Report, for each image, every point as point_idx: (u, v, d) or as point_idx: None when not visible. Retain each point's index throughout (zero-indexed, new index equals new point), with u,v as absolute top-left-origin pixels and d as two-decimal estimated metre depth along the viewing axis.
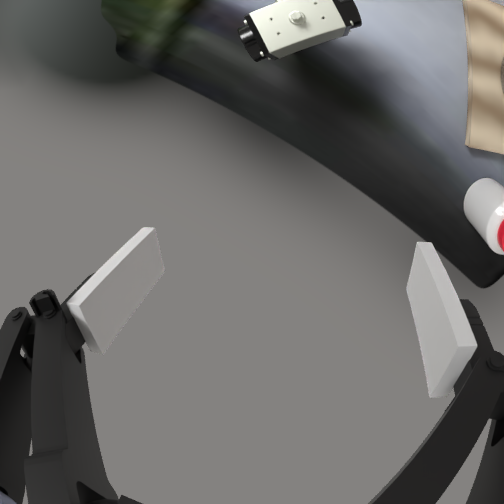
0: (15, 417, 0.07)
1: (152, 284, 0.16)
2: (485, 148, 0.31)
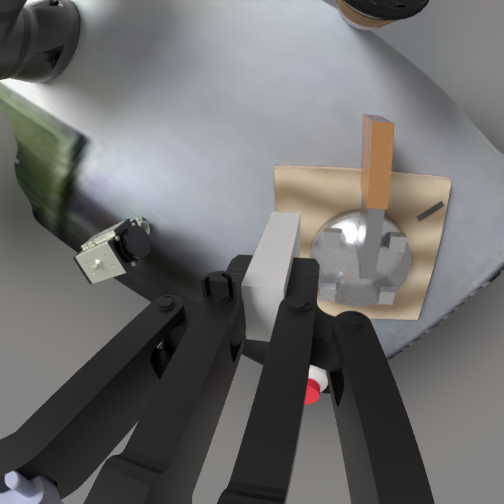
0: (110, 421, 0.08)
1: None
2: None
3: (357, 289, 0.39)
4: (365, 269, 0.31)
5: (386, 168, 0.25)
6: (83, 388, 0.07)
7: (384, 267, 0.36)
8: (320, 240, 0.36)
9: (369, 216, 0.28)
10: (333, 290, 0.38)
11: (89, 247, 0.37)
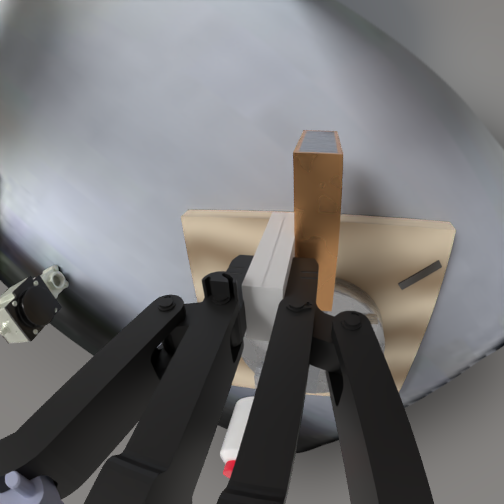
0: (110, 421, 0.08)
1: None
2: (237, 385, 0.35)
3: None
4: None
5: (328, 244, 0.14)
6: (83, 388, 0.07)
7: None
8: None
9: None
10: None
11: None
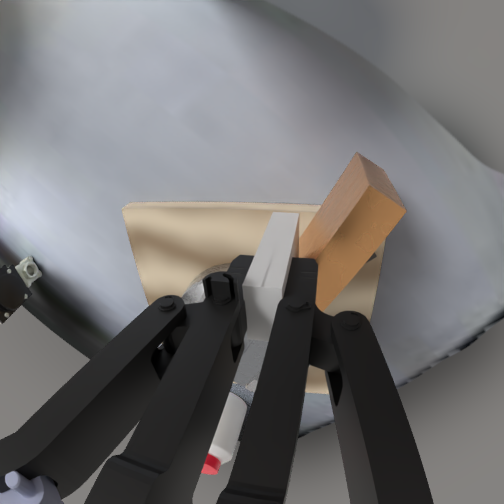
0: (111, 421, 0.08)
1: None
2: None
3: None
4: (236, 372, 0.20)
5: (344, 273, 0.14)
6: (84, 389, 0.07)
7: None
8: (200, 288, 0.25)
9: None
10: None
11: None
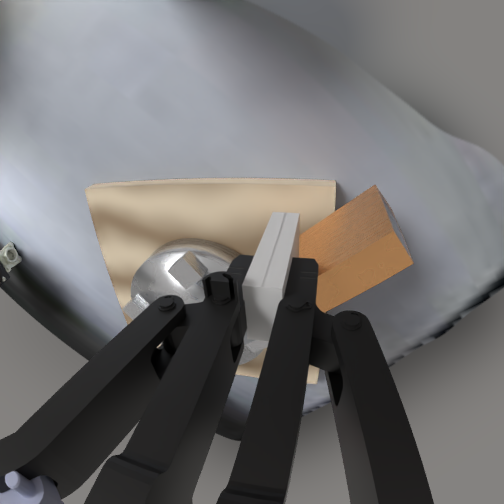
0: (110, 421, 0.08)
1: None
2: None
3: None
4: None
5: (336, 297, 0.15)
6: (83, 389, 0.07)
7: None
8: (172, 257, 0.24)
9: None
10: None
11: None
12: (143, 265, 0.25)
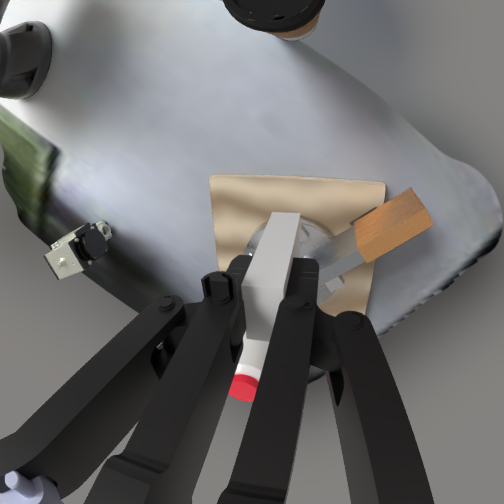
0: (110, 421, 0.08)
1: None
2: None
3: None
4: None
5: (397, 241, 0.28)
6: (83, 389, 0.07)
7: None
8: None
9: (351, 255, 0.30)
10: None
11: (55, 247, 0.40)
12: (261, 231, 0.38)
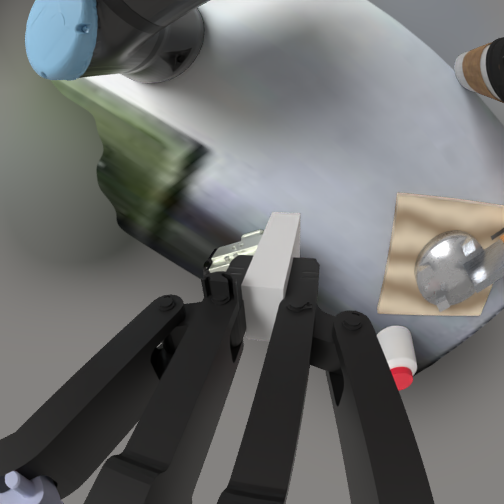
0: (110, 421, 0.08)
1: None
2: (392, 312, 0.51)
3: (435, 284, 0.43)
4: (481, 284, 0.35)
5: None
6: (83, 389, 0.07)
7: (459, 287, 0.42)
8: (459, 239, 0.39)
9: None
10: (432, 274, 0.41)
11: (230, 260, 0.42)
12: (441, 244, 0.40)
